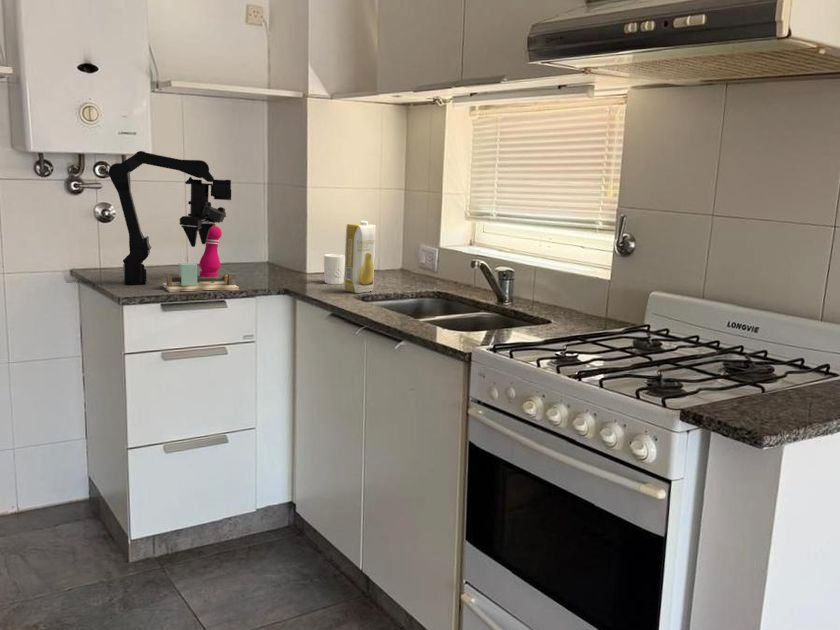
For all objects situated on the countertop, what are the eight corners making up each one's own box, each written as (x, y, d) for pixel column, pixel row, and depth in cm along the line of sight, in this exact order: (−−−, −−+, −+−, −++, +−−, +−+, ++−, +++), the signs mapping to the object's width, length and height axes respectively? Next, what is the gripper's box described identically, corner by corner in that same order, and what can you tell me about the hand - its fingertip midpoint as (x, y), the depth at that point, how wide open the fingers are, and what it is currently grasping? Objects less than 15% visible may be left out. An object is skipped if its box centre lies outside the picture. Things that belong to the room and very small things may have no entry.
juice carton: (356, 294, 264) (359, 222, 260) (340, 290, 270) (342, 219, 265) (376, 291, 271) (379, 221, 267) (360, 288, 276) (363, 219, 272)
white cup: (318, 283, 283) (319, 255, 281) (330, 280, 290) (331, 253, 288) (337, 285, 280) (338, 257, 278) (349, 282, 287) (350, 255, 285)
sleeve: (181, 285, 256) (181, 264, 254) (179, 283, 259) (179, 263, 258) (197, 285, 258) (197, 264, 257) (194, 283, 261) (194, 262, 260)
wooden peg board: (169, 292, 250) (169, 277, 249) (162, 286, 261) (162, 272, 260) (238, 290, 260) (238, 276, 260) (229, 284, 271) (229, 270, 270)
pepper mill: (206, 278, 276) (212, 221, 273) (193, 275, 280) (199, 219, 278) (223, 279, 282) (228, 223, 279) (210, 276, 286) (215, 220, 283)
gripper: (212, 201, 253) (211, 250, 256) (232, 199, 271) (231, 244, 274) (179, 198, 254) (178, 247, 257) (201, 196, 272) (200, 242, 275)
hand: (198, 245), depth 266 cm, fingers open, 9 cm apart
